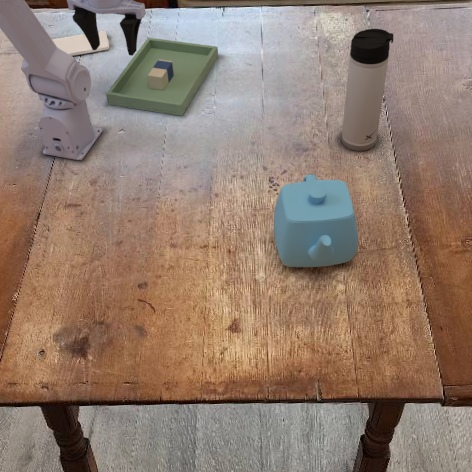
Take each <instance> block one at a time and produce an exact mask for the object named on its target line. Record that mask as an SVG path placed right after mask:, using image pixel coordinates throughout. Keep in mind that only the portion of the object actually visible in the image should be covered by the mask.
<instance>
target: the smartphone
mask: <svg viewBox="0 0 472 472" xmlns="http://www.w3.org/2000/svg"><path fill="white" fill-rule="evenodd" d="M98 34H99V39H100V46H99V47H98V48H97V49H96V50H92V48H91V45H90V43H89V41H88V39H87V38H86V36H85V34H84V33H81V34H76V35H70V36H69V35H68V36H64V37H57V38H51V39H52V41H53V42H54V44H55V45H56V46H57V47H58V48H59V49H61V50H62V51H64V52H66V53H67V54H69V55H71V56H72V57H73V56H78V55H85V54H90V53H96V52H101V51H106V50H109V49H110V42H109V38H108V34H107V32H106V30H98Z"/></svg>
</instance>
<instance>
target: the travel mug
mask: <svg viewBox="0 0 472 472" xmlns="http://www.w3.org/2000/svg"><path fill="white" fill-rule="evenodd" d="M390 43H391V44H393V43H394V33H393V32H389V31H387V30H385V29H382V28H368V29H363V30H361V31H358V32H357V33H355V34H354V35H353V37H352V38H351V42H350V51H349V57H348V58H349V60H348V70H347V79H346V89H345V99H344V110H343V120H342V129H341V130H342V131H341V143H342V145H343V146H344V147H345V148H347V149H349V150H352V151H357V152H362V151H363V152H364V151H368V150H370V149H372V148H374V146H376V143H377V139H378V132H379V126H380V119H381V111H382V104H383V98H384V92H385V86H386V84H385V83H386V77H387V71H388V65H389V58H390V46H391V45H390Z"/></svg>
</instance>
